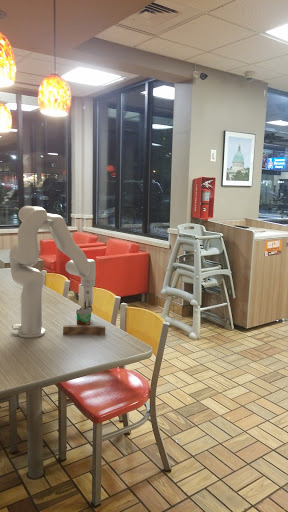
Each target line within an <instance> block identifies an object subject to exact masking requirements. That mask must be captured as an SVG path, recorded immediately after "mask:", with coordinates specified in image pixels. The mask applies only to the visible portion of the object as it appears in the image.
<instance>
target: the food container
mask: <svg viewBox="0 0 288 512" xmlns="http://www.w3.org/2000/svg"><path fill="white" fill-rule="evenodd" d="M93 311H94V310H93V305H90V304H88V306H86V304H85V305H84V304H83V306H81V307H80V308H78V309H76V313H75V314H76V325H91V320H92V312H93Z"/></svg>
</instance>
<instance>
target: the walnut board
mask: <svg viewBox="0 0 288 512" xmlns="http://www.w3.org/2000/svg"><path fill="white" fill-rule="evenodd" d="M62 327H63V328H62V335H63V336H64V335H65V336H67V335H68V336H106V325H91V324H90V325H77V324H63V326H62Z"/></svg>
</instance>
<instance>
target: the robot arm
mask: <svg viewBox="0 0 288 512" xmlns="http://www.w3.org/2000/svg"><path fill="white" fill-rule="evenodd" d="M18 219H19V220H20V221H21V223H20V225H19V227H18V231H17V243H16V244H13V246H11V248H10V251H9V264H10V273H11V278H12V280H13V282H14V283H16V284H17V285H19V286H21V287H22V290H21V293H20V294H21V295H20V323H19V324H11V328H12V330H13V331H17V336H19V337H21V338H26V339H29V338H31V339H32V338H33V339H34V338H39V337H41V336H44V335H45V333H46V329H45V328H44V327H43V297H42V296H43V289H44V288H43V287H44V282H45V277H44V274H43V273H42V271H40V270H39V269H37V268H34V267H33V266H35V265H37V263H38V262H39V260H40V255H39V254H40V253H39V246H38V245H39V242H38V232H39V230H42V231H46V232H49V233H50V235H51V236H52V237H51V238H52V239H53V241H54V243H55V245H56V247H57V249H58V250H59V251H60V252H62V253H63V254H64V255H65V256H67V257H68V258H69V259H70V260H69V261H66V263H65V265H64V266H65V271H66V272H67V273H68V274H71V275H72V276H73V275H74V276H77V277H80V286H81V287H82V302H83V303H82V304H83V306H84V305H85V304H86V306H88V304H90V305H91V306H93V305H94V287H95V286H96V268H97V267H96V260H95V259H91V258H90V259H89V258H87V255H86V253H84V251H83V250H82V248H80V246H79V245H78V244H77V243H76V242H75V240H74V239H73V236H72V234H71V232H70V229H69V228H68V225H67V223H66V221H65V218H64V217H63V216H61V215H59V214H55V213H54V214H53V213H48V212H47V210H46V209H44V208H43V207H41V206H32V205H25V206H23V207H21V208H19V210H18Z"/></svg>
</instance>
